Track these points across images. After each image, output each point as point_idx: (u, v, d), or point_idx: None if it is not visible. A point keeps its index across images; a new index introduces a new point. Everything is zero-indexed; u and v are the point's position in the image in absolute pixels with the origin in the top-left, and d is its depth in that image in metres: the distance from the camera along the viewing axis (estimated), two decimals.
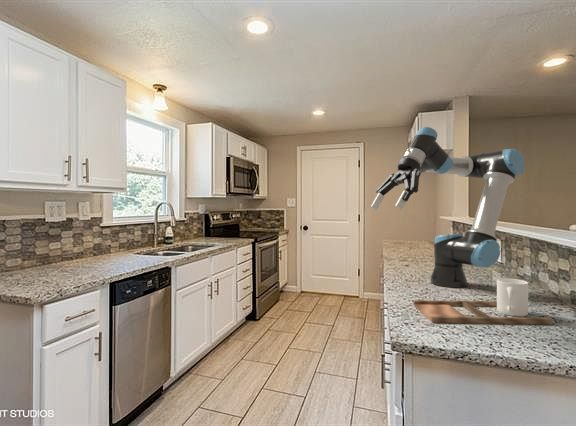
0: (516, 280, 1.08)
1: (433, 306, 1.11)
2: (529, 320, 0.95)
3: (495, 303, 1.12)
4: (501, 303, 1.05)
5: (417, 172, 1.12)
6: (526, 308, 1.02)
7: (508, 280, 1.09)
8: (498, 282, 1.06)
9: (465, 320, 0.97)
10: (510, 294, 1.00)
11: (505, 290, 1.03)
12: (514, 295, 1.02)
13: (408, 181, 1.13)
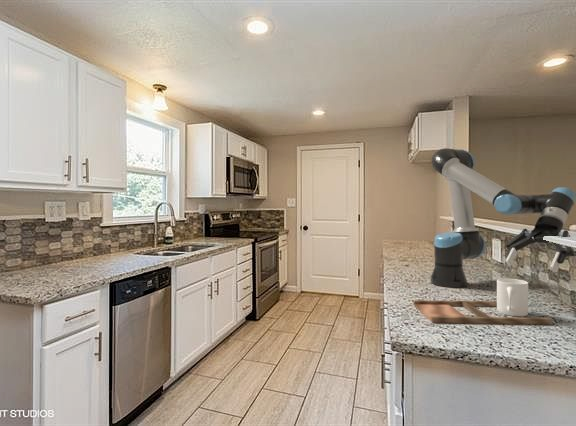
0: (516, 280, 1.08)
1: (433, 306, 1.11)
2: (529, 320, 0.95)
3: (495, 303, 1.12)
4: (501, 303, 1.05)
5: (568, 234, 1.07)
6: (526, 308, 1.02)
7: (508, 280, 1.09)
8: (498, 282, 1.06)
9: (465, 320, 0.97)
10: (510, 294, 1.00)
11: (505, 290, 1.03)
12: (514, 295, 1.02)
13: None
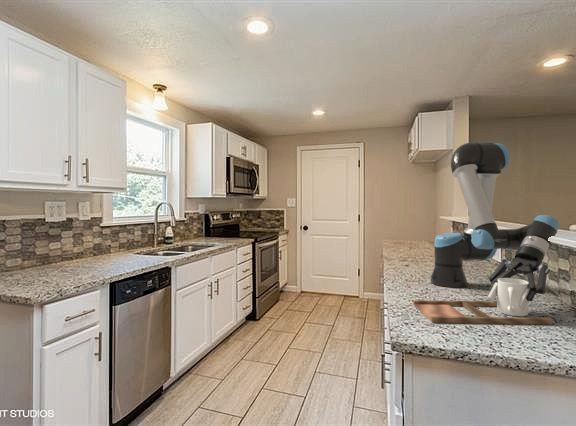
0: (517, 280, 1.07)
1: (433, 306, 1.11)
2: (529, 320, 0.95)
3: (495, 303, 1.12)
4: (502, 303, 1.04)
5: (546, 269, 1.02)
6: (527, 308, 1.01)
7: (509, 279, 1.09)
8: (499, 282, 1.05)
9: (465, 320, 0.97)
10: (511, 294, 1.00)
11: (506, 290, 1.03)
12: (515, 295, 1.01)
13: (532, 276, 1.03)
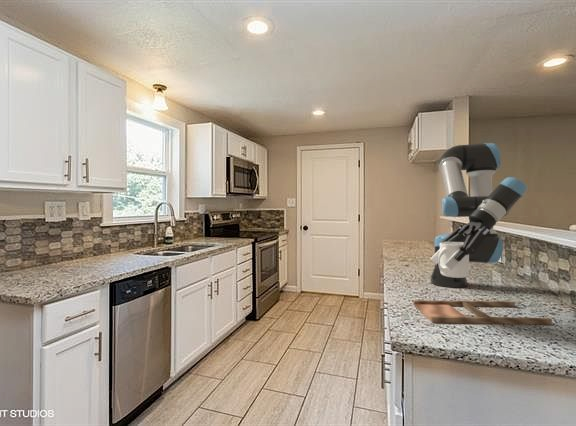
0: None
1: (433, 306, 1.11)
2: (529, 320, 0.95)
3: (495, 303, 1.12)
4: (440, 264, 1.06)
5: (485, 231, 0.98)
6: (461, 269, 1.01)
7: (457, 243, 1.08)
8: None
9: (465, 320, 0.97)
10: (440, 254, 1.02)
11: None
12: (448, 256, 1.02)
13: (471, 238, 1.01)
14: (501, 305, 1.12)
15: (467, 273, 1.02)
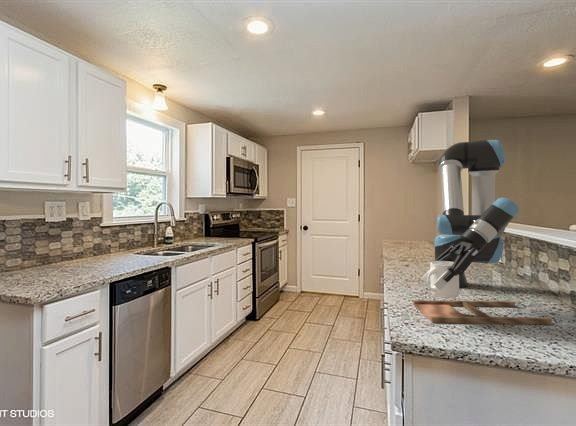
0: None
1: (433, 306, 1.11)
2: (529, 320, 0.95)
3: (495, 303, 1.12)
4: None
5: (474, 252, 0.99)
6: (451, 290, 1.02)
7: (448, 263, 1.08)
8: None
9: (465, 320, 0.97)
10: (429, 274, 1.03)
11: None
12: (437, 276, 1.03)
13: (460, 259, 1.02)
14: (501, 305, 1.12)
15: (457, 293, 1.02)
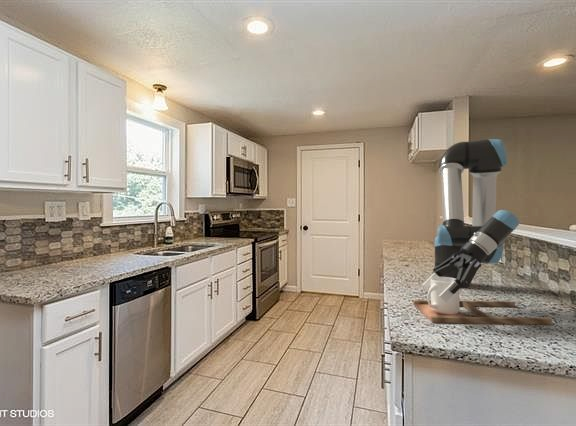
0: None
1: None
2: (529, 320, 0.95)
3: (495, 303, 1.12)
4: (431, 299, 1.07)
5: (476, 263, 0.99)
6: (451, 307, 1.02)
7: (449, 279, 1.09)
8: None
9: (465, 320, 0.97)
10: (429, 290, 1.03)
11: None
12: (437, 292, 1.04)
13: (464, 271, 1.01)
14: (501, 305, 1.12)
15: (457, 310, 1.03)
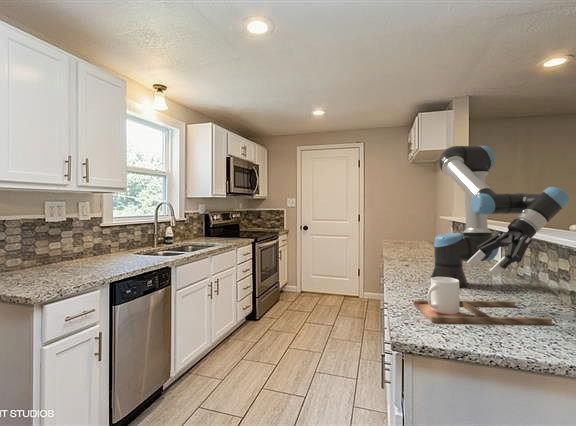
0: (455, 280, 1.07)
1: None
2: (529, 320, 0.95)
3: (495, 303, 1.12)
4: (431, 300, 1.07)
5: (527, 239, 1.00)
6: (451, 307, 1.02)
7: (449, 279, 1.09)
8: None
9: (465, 320, 0.97)
10: (430, 290, 1.03)
11: None
12: (438, 292, 1.04)
13: (513, 247, 1.03)
14: (501, 305, 1.12)
15: (457, 310, 1.03)
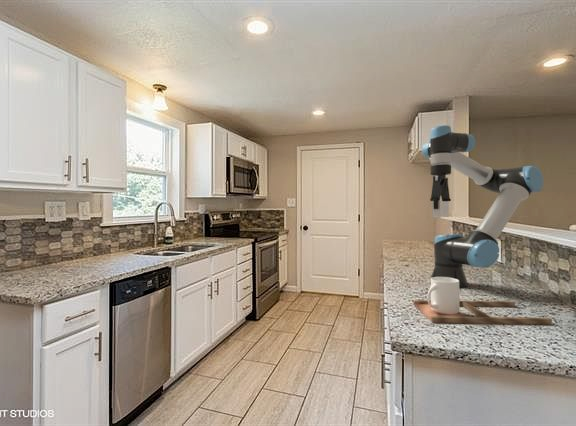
0: (455, 280, 1.07)
1: None
2: (529, 320, 0.95)
3: (495, 303, 1.12)
4: (431, 300, 1.07)
5: (435, 178, 1.22)
6: (451, 307, 1.02)
7: (449, 279, 1.09)
8: None
9: (465, 320, 0.97)
10: (430, 290, 1.03)
11: None
12: (438, 292, 1.04)
13: None
14: (501, 305, 1.12)
15: (457, 310, 1.03)
